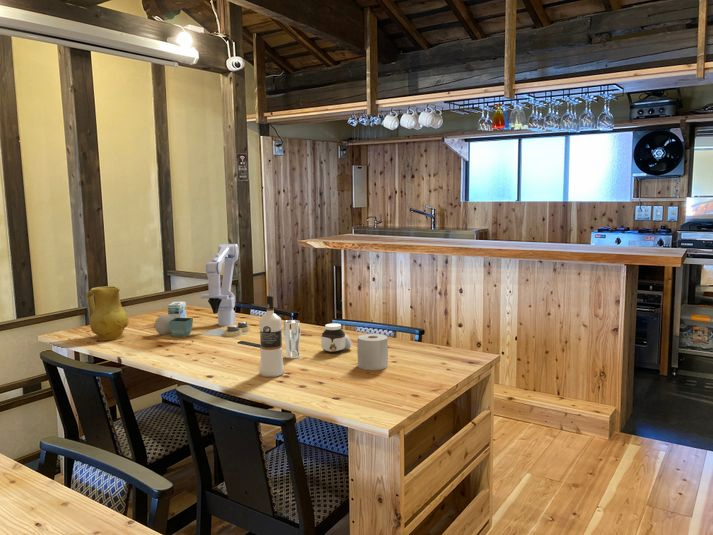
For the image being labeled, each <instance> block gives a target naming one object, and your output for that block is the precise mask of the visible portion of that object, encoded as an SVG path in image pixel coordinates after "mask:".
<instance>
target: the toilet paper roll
mask: <svg viewBox="0 0 713 535" xmlns="http://www.w3.org/2000/svg"><path fill="white" fill-rule="evenodd" d="M388 341H389V340H388V336H387V335H385V334H380V333H365V334H360V335H358V336H357V346H356V347H357V354H356V355H357V367H358V368H359V369H361V370H363V371H364V370H365V371H380V370H384V369H387V368H388V367H389V364H388V363H389V361H388V360H389V345H388V344H389V342H388Z"/></svg>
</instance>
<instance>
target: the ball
mask: <svg viewBox="0 0 713 535" xmlns="http://www.w3.org/2000/svg"><path fill="white" fill-rule="evenodd" d="M172 319H174V318H173V317H172V316H170V315H168V314H162V315H160V316H158V317H157V318H156V320H155V322H154V329H155V331H156V332H157V334H159V335H161V336H167V335H169V334H171V331H170V326H169V321H170V320H172Z"/></svg>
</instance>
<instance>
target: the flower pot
mask: <svg viewBox="0 0 713 535" xmlns="http://www.w3.org/2000/svg"><path fill="white" fill-rule="evenodd" d="M193 322H194V318H193V317H187V318H174V319H172V320H170V321H169V326H170V331H171V333H170V334H171V335H172V337H173V338H186V337H187V336H189V335H191V332H192V329H193V324H194V323H193Z"/></svg>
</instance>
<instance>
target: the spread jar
mask: <svg viewBox="0 0 713 535" xmlns="http://www.w3.org/2000/svg"><path fill="white" fill-rule="evenodd" d="M324 326H325V330H323V332H322V334H321V338H320V339H321V340H320V341H321V342H320V343H321V348H322V350H323V351H324V352H325V354H326V353H327V354H333V355H337V354H341V353H342V352H343V351H344V350H349V349H351V348H352V347H353V340H352V339H351V337H350V336H349V335H348V334H346V333H345V332H344V330H343V329H342V324H341V323H327V324H325V325H324Z"/></svg>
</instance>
